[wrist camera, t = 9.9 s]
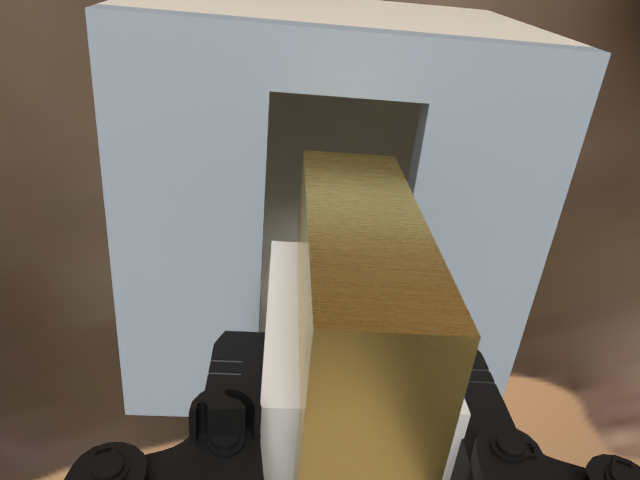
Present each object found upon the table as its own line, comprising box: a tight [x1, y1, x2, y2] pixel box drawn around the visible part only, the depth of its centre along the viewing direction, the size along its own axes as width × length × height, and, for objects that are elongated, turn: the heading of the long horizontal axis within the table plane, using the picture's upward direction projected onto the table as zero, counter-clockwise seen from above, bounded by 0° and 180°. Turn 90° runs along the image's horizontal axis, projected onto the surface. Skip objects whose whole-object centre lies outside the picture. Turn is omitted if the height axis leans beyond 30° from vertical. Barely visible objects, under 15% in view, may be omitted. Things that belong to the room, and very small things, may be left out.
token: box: [293, 150, 481, 480], centre depth 14 cm, size 8×2×8 cm, turn 175°
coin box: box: [85, 0, 611, 417], centre depth 23 cm, size 14×14×11 cm
